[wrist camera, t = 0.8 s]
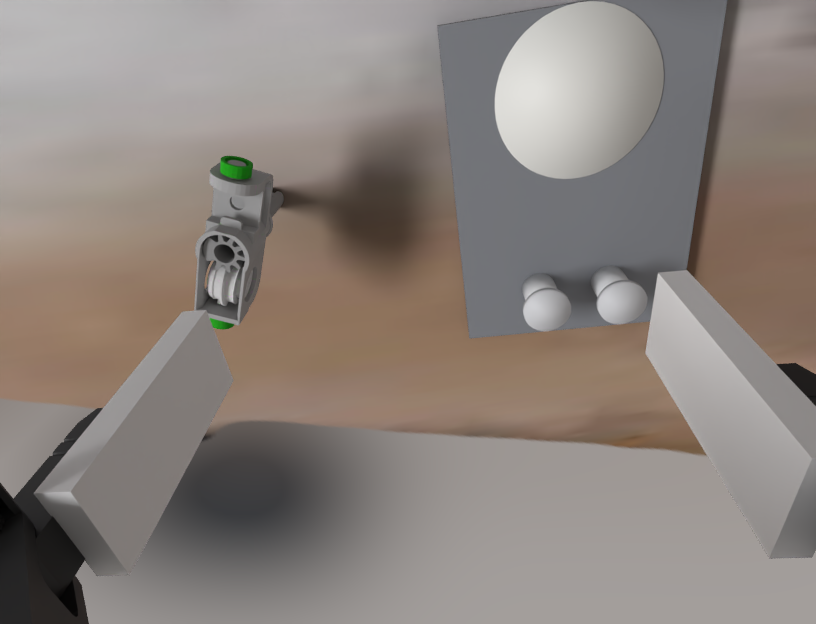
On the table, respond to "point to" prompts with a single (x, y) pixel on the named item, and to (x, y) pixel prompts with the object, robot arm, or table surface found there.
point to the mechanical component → (234, 240)
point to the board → (577, 156)
